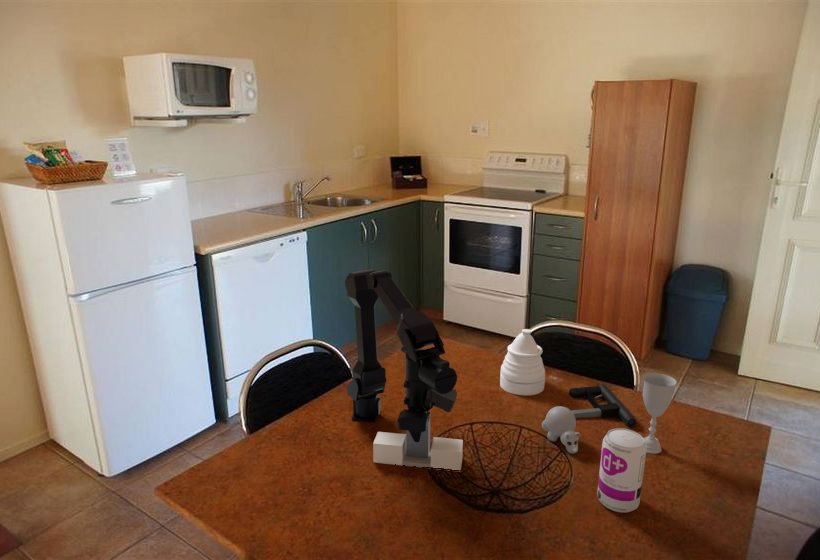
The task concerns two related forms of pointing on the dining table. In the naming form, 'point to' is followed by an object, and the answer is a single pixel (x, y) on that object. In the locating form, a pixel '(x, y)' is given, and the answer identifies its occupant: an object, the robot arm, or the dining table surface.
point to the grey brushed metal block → (419, 443)
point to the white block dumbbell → (394, 452)
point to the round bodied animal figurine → (562, 427)
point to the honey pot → (523, 366)
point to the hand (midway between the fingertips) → (418, 437)
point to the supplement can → (621, 470)
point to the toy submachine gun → (603, 410)
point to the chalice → (656, 403)
